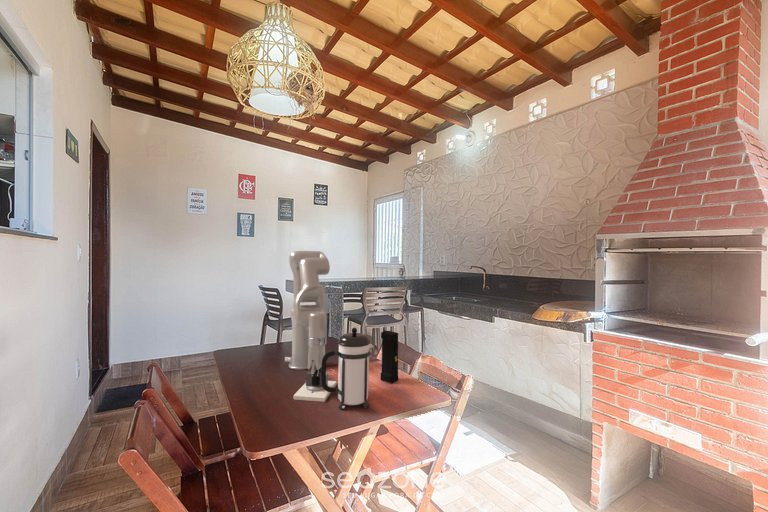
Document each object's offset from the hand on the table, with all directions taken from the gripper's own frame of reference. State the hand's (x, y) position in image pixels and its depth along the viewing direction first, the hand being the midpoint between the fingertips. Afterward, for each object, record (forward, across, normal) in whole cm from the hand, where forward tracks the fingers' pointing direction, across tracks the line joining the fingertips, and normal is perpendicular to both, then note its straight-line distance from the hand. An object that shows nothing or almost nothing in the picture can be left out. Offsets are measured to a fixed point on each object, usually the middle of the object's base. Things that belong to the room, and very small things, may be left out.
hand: (316, 383), depth 146 cm
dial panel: (+3, 0, 0) cm, 3 cm away
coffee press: (+3, +10, +17) cm, 20 cm away
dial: (+1, 0, 0) cm, 1 cm away
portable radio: (+3, -17, +30) cm, 35 cm away
